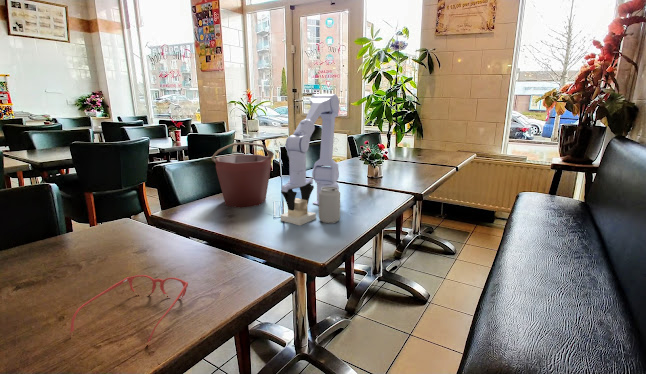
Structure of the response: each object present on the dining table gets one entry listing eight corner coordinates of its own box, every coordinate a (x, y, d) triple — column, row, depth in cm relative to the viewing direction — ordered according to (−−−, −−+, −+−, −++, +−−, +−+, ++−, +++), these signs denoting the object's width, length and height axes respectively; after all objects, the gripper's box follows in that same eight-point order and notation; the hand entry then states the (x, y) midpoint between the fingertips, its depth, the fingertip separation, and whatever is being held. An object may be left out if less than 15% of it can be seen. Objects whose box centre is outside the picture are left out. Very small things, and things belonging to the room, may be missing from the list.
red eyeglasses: (198, 299, 76) (196, 278, 74) (152, 350, 60) (148, 325, 59) (126, 292, 78) (123, 272, 77) (64, 339, 63) (59, 315, 62)
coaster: (297, 213, 131) (297, 208, 131) (315, 218, 126) (315, 213, 126) (280, 220, 124) (280, 214, 124) (299, 225, 119) (299, 220, 119)
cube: (296, 211, 128) (296, 198, 127) (307, 213, 125) (307, 200, 124) (287, 214, 124) (287, 201, 123) (298, 217, 122) (298, 203, 120)
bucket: (277, 195, 157) (275, 139, 151) (271, 210, 136) (269, 146, 130) (222, 195, 156) (218, 139, 150) (208, 210, 135) (203, 146, 129)
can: (338, 225, 120) (338, 191, 117) (316, 223, 121) (316, 190, 118) (341, 218, 127) (341, 186, 124) (321, 216, 128) (321, 185, 125)
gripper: (302, 165, 129) (302, 200, 132) (274, 171, 118) (275, 210, 121) (317, 167, 125) (317, 203, 128) (290, 174, 113) (291, 213, 117)
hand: (298, 207), depth 124 cm, fingers open, 7 cm apart
